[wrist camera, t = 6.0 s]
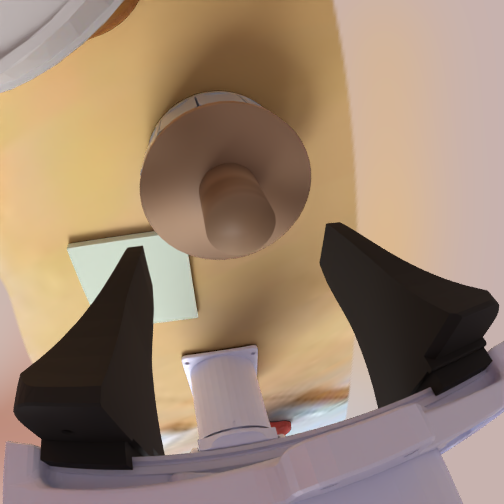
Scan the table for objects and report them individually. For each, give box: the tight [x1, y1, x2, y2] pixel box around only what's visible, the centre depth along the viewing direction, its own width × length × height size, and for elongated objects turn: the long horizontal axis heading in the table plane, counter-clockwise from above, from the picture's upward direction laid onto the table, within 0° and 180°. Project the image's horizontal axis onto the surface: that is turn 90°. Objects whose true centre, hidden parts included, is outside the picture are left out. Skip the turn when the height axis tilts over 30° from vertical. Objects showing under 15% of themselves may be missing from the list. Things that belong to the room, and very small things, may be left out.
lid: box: [140, 101, 311, 260], centre depth 15 cm, size 9×9×4 cm
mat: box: [67, 231, 198, 323], centre depth 24 cm, size 9×9×1 cm
